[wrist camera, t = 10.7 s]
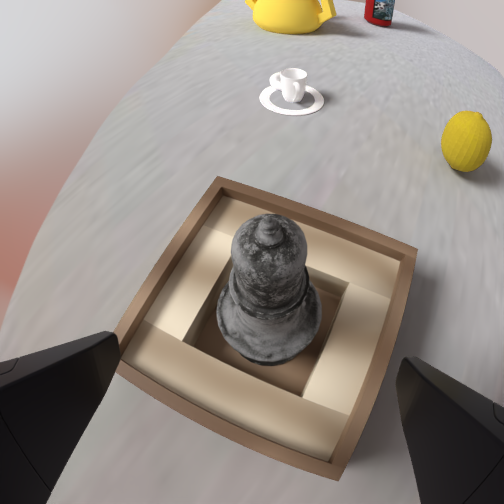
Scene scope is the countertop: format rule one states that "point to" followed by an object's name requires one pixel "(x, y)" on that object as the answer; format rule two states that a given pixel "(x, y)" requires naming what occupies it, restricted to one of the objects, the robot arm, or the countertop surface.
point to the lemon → (466, 141)
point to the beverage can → (379, 12)
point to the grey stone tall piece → (269, 292)
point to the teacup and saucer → (291, 91)
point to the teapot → (291, 15)
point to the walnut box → (280, 376)
